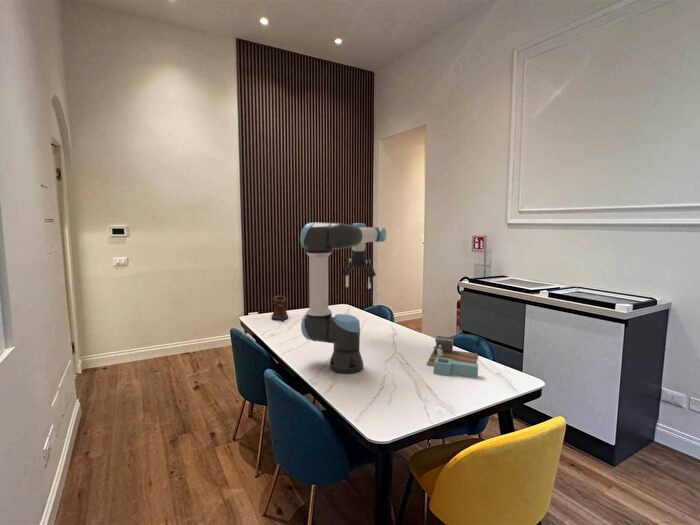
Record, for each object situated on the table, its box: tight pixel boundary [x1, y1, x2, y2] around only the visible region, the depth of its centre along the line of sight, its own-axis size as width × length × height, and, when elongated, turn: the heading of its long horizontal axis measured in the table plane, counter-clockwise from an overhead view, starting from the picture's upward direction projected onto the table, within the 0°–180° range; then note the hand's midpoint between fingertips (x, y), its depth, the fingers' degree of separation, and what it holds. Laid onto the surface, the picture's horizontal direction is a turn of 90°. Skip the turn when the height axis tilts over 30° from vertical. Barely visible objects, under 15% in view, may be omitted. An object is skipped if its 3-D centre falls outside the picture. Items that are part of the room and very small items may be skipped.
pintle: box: [437, 345, 442, 358], centre depth 178 cm, size 2×2×9 cm
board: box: [426, 349, 478, 367], centre depth 183 cm, size 24×21×1 cm
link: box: [433, 357, 479, 379], centre depth 166 cm, size 18×7×5 cm, turn 69°
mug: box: [270, 294, 289, 322], centre depth 252 cm, size 18×12×15 cm, turn 24°
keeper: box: [433, 335, 454, 354], centre depth 191 cm, size 8×8×7 cm
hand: (358, 287), depth 218 cm, fingers open, 13 cm apart
